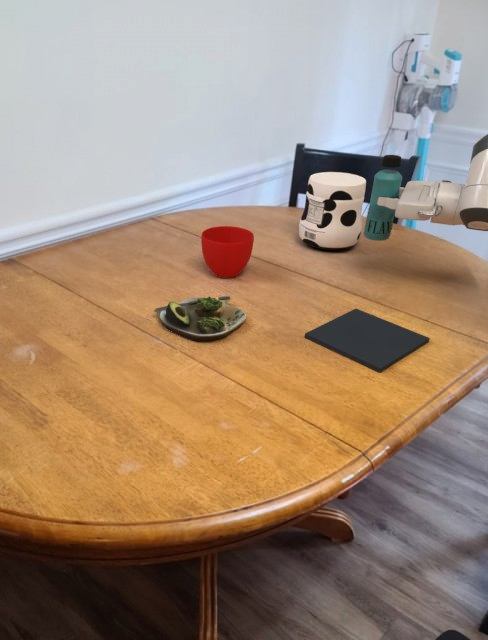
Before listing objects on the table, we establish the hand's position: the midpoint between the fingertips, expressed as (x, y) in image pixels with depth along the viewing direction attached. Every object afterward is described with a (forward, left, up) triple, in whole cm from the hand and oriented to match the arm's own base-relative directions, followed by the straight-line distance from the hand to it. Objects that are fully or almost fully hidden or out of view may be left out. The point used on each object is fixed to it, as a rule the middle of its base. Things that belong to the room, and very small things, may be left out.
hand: (380, 195), depth 132 cm
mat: (-20, +28, -20) cm, 40 cm away
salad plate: (+8, +49, -20) cm, 54 cm away
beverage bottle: (-1, 0, -11) cm, 11 cm away
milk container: (+20, -12, -20) cm, 31 cm away
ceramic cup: (+25, +24, -20) cm, 41 cm away
